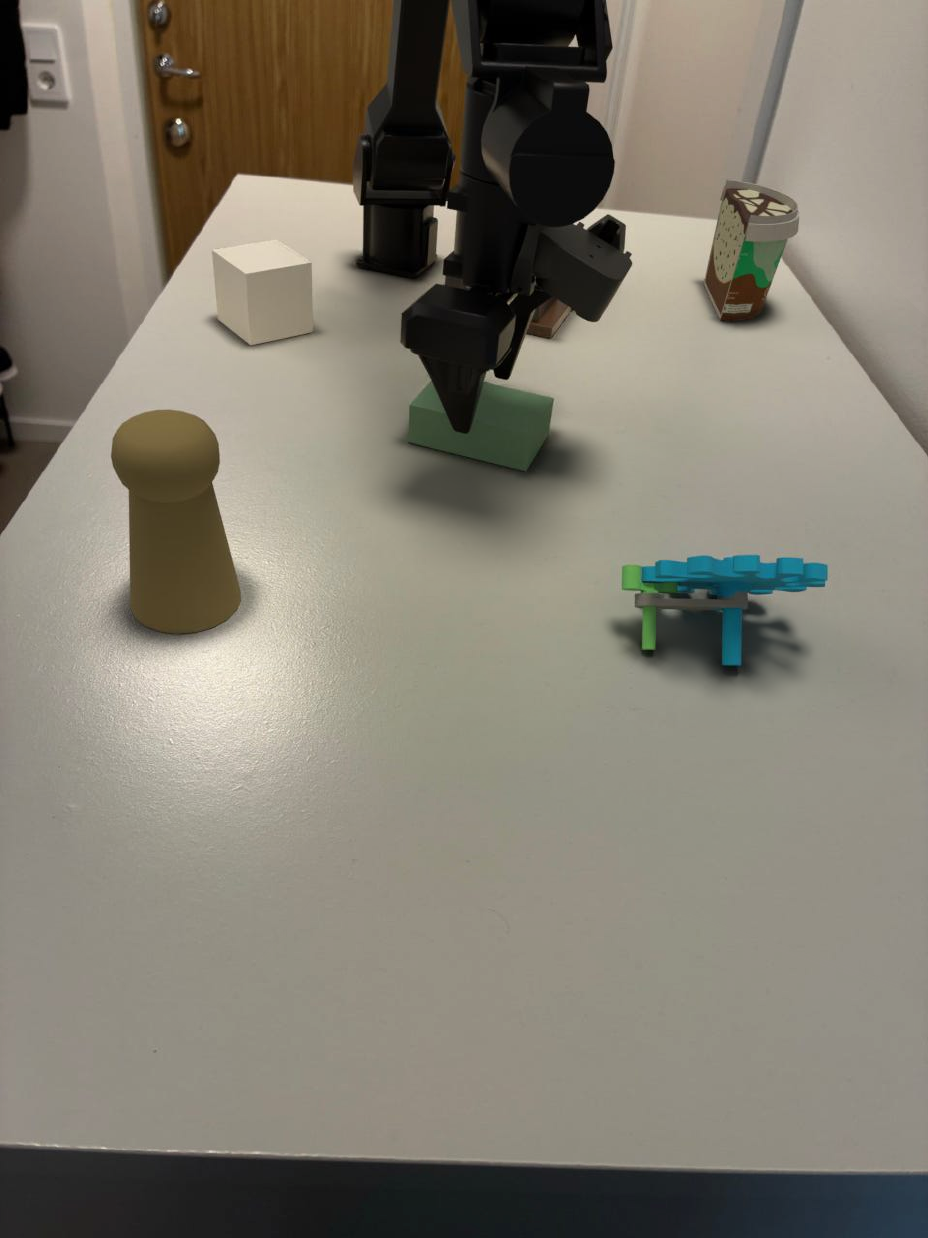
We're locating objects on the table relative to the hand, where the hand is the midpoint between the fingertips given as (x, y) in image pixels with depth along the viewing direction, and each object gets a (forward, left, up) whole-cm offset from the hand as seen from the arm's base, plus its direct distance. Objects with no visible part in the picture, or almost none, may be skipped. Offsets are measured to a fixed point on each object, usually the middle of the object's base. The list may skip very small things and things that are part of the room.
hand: (482, 403), depth 68 cm
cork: (-9, -25, -3) cm, 27 cm away
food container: (+15, +38, -3) cm, 41 cm away
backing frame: (-6, +28, -3) cm, 29 cm away
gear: (+19, -15, -3) cm, 24 cm away
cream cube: (-23, +10, -3) cm, 25 cm away
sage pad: (0, 0, -3) cm, 3 cm away
